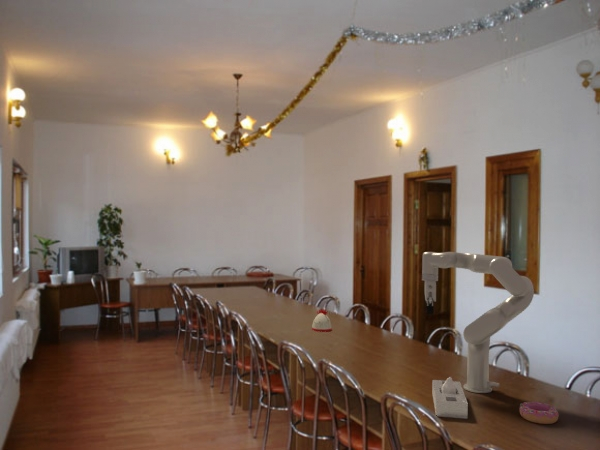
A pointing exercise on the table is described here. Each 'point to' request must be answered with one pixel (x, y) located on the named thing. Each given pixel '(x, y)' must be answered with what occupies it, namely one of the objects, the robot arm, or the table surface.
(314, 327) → the cream hat
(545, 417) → the donut
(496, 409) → the table surface
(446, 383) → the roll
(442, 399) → the white block holder
